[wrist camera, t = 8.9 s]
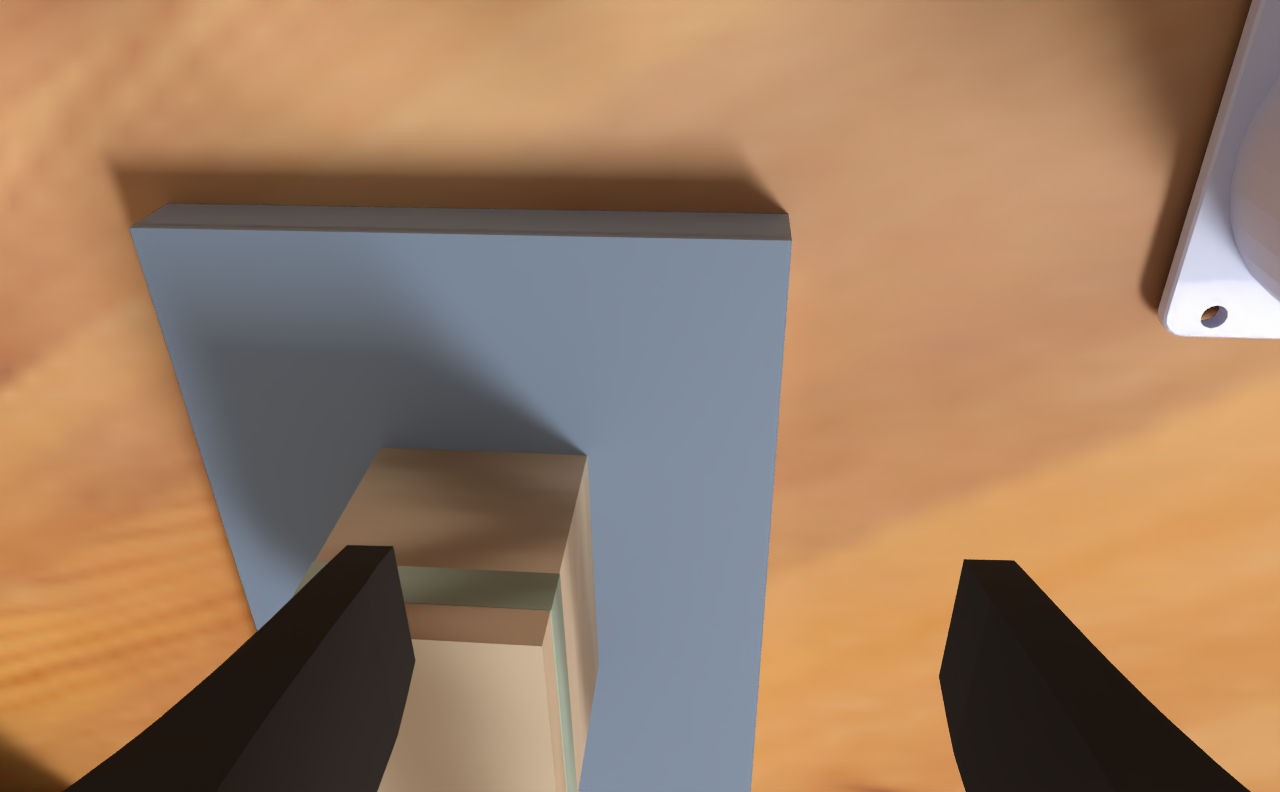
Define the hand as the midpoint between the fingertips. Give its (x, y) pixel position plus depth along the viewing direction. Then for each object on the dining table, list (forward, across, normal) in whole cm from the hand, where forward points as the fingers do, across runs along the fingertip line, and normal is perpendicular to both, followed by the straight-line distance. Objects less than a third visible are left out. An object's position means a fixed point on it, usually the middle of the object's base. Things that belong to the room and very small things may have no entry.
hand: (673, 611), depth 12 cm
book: (+11, +5, +7) cm, 14 cm away
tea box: (+9, +5, +7) cm, 13 cm away
